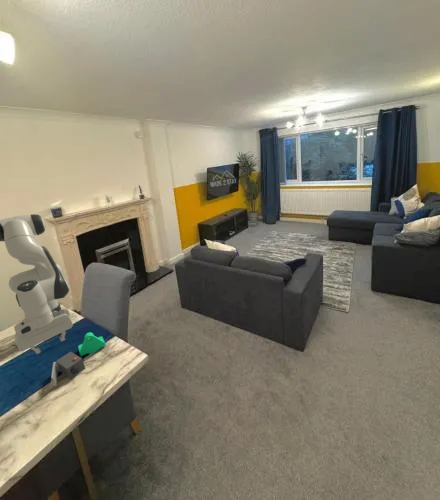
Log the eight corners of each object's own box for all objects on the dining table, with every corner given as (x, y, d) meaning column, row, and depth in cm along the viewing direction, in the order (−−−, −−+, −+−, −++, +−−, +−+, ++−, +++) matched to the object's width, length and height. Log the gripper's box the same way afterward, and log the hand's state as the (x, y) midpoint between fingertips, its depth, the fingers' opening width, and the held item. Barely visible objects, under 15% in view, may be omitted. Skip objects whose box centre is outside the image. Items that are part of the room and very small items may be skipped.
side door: (55, 370, 122) (51, 362, 121) (58, 369, 123) (55, 361, 121) (52, 387, 113) (49, 379, 111) (56, 386, 114) (53, 377, 112)
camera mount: (103, 339, 143) (98, 324, 139) (106, 347, 137) (101, 331, 133) (79, 349, 137) (73, 333, 133) (81, 357, 131) (75, 341, 127)
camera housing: (59, 371, 123) (55, 360, 121) (74, 361, 128) (70, 350, 126) (72, 380, 117) (67, 368, 115) (86, 369, 123) (82, 358, 120)
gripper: (64, 305, 116) (73, 331, 120) (9, 328, 102) (21, 357, 106) (69, 309, 112) (78, 336, 116) (12, 334, 98) (25, 363, 102)
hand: (51, 346), depth 111 cm, fingers open, 8 cm apart
